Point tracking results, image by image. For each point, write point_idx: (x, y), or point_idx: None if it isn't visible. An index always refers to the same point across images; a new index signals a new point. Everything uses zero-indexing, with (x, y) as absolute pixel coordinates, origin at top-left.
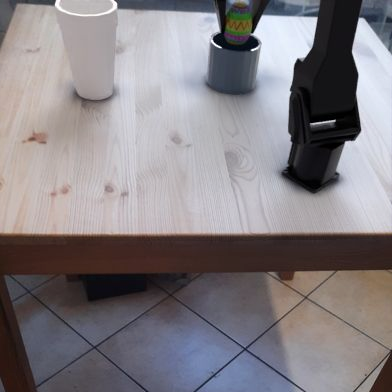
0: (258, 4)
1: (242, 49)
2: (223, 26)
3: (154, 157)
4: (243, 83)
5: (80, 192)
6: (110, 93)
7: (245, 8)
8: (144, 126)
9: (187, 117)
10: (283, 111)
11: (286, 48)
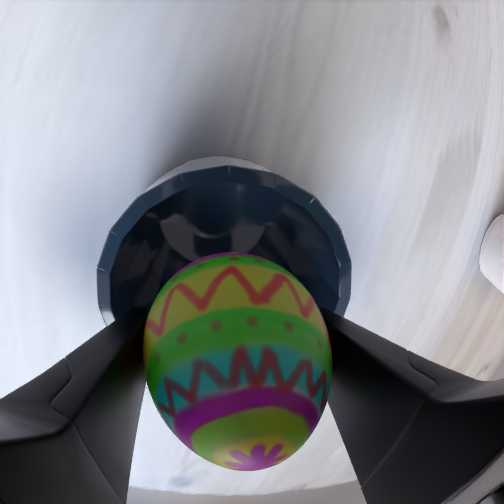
0: (92, 418)
1: None
2: (340, 323)
3: (471, 3)
4: (207, 158)
5: None
6: (493, 225)
7: (224, 396)
8: (479, 91)
9: (408, 79)
10: (117, 36)
11: None
